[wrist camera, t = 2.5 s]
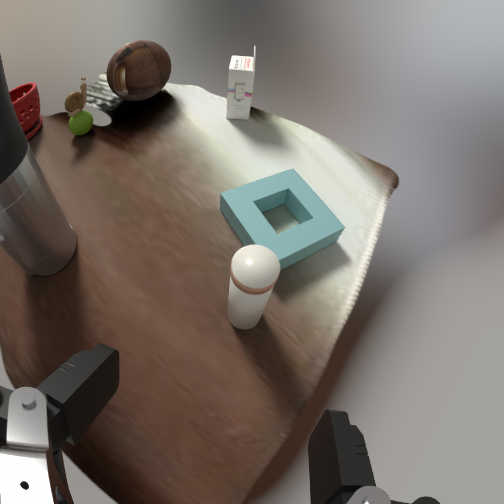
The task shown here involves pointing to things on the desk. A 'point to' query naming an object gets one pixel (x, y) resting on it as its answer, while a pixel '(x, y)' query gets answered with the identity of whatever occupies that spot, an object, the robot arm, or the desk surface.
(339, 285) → the desk surface
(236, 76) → the ink cartridge box
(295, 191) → the teal square frame
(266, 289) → the white capped post
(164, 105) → the desk surface
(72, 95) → the snail figurine
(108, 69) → the wooden sphere
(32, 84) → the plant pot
